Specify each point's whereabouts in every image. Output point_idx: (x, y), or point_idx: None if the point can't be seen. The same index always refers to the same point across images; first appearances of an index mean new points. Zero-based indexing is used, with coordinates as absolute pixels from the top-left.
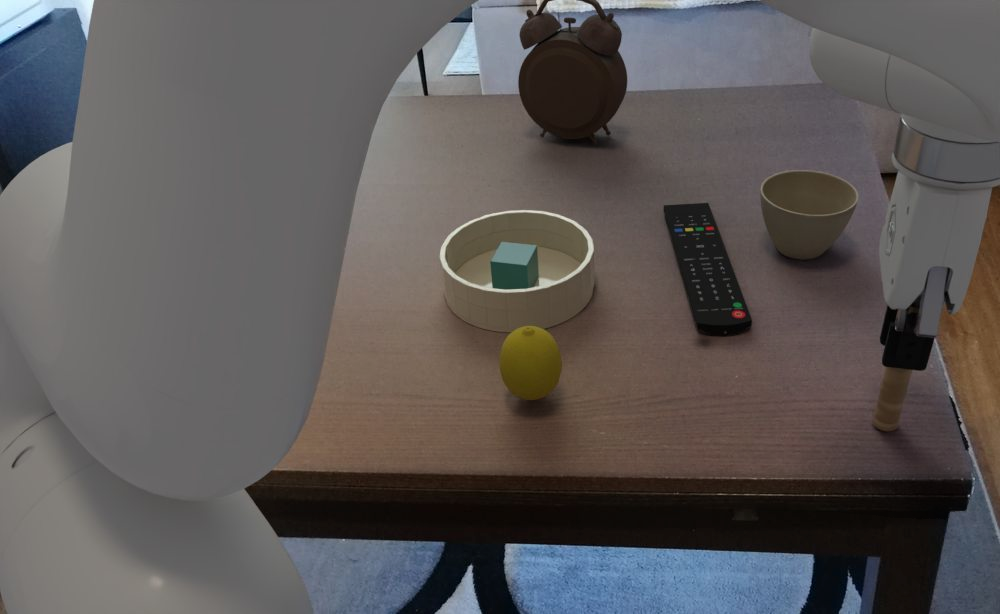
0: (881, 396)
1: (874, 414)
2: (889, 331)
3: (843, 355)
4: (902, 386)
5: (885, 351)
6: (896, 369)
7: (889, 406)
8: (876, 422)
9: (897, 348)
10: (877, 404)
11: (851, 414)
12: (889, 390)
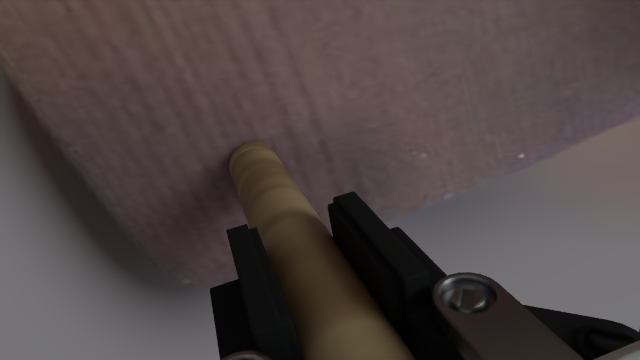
0: (249, 179)
1: (247, 150)
2: (249, 312)
3: (441, 40)
4: None
5: (233, 257)
6: None
7: (238, 194)
8: (236, 154)
9: (236, 304)
10: (250, 162)
11: (258, 96)
12: (246, 206)
